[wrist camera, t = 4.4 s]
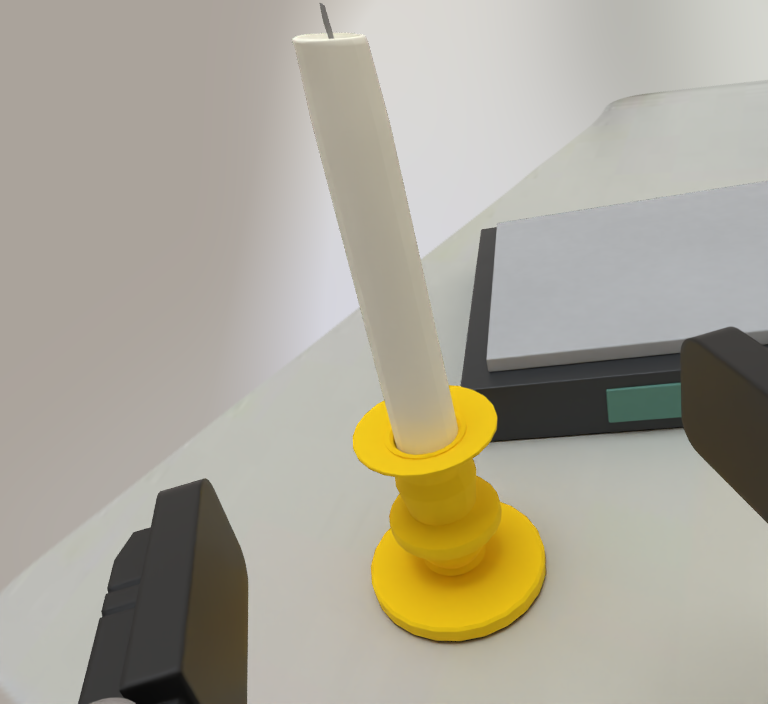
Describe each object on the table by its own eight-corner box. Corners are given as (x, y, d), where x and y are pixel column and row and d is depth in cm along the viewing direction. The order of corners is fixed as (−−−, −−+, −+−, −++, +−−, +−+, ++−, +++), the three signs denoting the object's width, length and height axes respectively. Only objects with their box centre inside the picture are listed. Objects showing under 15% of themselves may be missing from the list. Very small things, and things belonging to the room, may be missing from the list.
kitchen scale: (470, 444, 25) (456, 378, 24) (487, 268, 39) (479, 219, 37) (975, 408, 21) (996, 324, 20) (798, 224, 35) (802, 167, 33)
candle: (534, 497, 22) (451, -34, 15) (560, 634, 18) (458, -31, 10) (380, 516, 23) (228, 24, 16) (367, 651, 19) (145, 50, 11)
